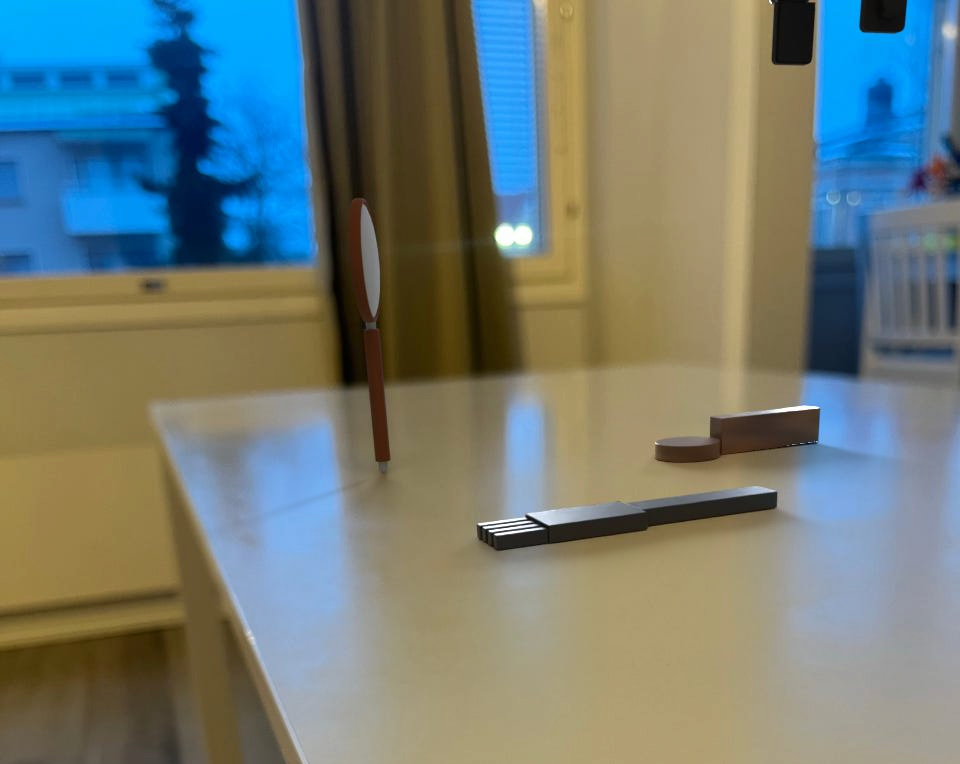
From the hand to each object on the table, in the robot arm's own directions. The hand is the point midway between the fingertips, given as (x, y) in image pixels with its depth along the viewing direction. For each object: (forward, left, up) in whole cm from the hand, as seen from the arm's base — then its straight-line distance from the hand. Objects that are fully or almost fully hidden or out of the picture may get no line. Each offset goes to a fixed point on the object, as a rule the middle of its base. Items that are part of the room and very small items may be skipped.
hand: (833, 49), depth 69 cm
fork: (+24, +16, -28) cm, 40 cm away
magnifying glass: (+33, -10, -28) cm, 44 cm away
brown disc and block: (+6, -2, -28) cm, 28 cm away
